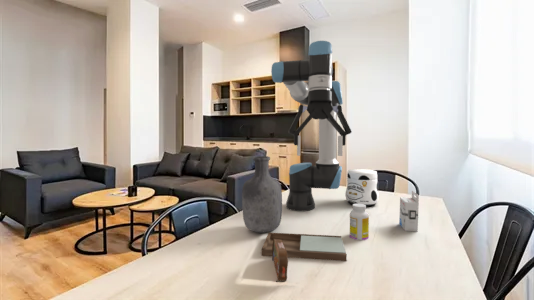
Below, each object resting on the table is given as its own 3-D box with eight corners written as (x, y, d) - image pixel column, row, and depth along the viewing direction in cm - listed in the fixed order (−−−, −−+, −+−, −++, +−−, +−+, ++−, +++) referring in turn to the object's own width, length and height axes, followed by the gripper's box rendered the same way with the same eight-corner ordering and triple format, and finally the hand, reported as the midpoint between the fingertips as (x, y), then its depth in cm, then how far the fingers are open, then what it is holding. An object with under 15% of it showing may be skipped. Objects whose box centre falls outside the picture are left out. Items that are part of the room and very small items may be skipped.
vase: (287, 226, 115) (287, 155, 113) (272, 240, 100) (271, 159, 98) (254, 221, 121) (253, 154, 119) (235, 234, 107) (233, 158, 105)
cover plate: (301, 240, 97) (301, 235, 97) (341, 243, 95) (341, 237, 95) (299, 256, 86) (299, 249, 85) (345, 259, 83) (346, 252, 83)
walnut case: (268, 240, 101) (268, 232, 100) (341, 244, 97) (341, 236, 96) (261, 258, 86) (261, 249, 86) (346, 264, 82) (346, 254, 82)
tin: (271, 260, 85) (271, 234, 84) (281, 260, 85) (281, 234, 85) (277, 288, 70) (276, 256, 69) (289, 288, 70) (289, 256, 70)
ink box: (398, 223, 117) (399, 189, 116) (411, 224, 116) (412, 190, 115) (404, 231, 109) (405, 194, 108) (418, 231, 108) (419, 195, 107)
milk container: (345, 206, 144) (345, 173, 143) (345, 198, 160) (345, 168, 159) (380, 209, 139) (381, 174, 138) (377, 200, 155) (377, 169, 154)
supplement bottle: (368, 236, 103) (368, 203, 102) (368, 243, 97) (369, 208, 96) (349, 234, 105) (350, 202, 104) (349, 241, 99) (349, 206, 98)
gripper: (282, 87, 85) (282, 155, 85) (362, 88, 85) (361, 156, 86) (281, 92, 93) (280, 155, 93) (354, 93, 93) (353, 155, 93)
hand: (319, 155), depth 89 cm, fingers open, 13 cm apart
